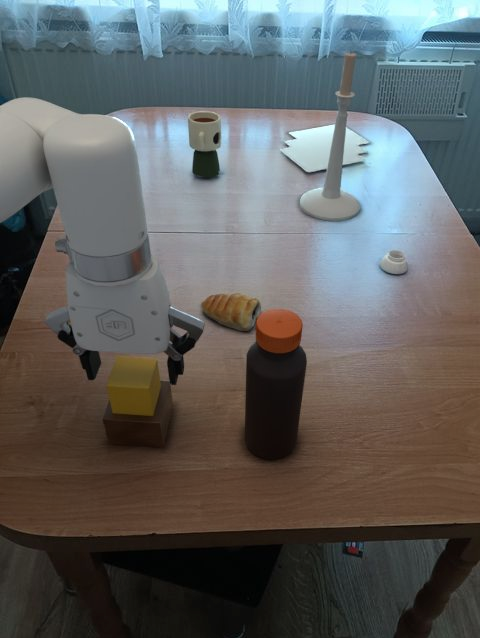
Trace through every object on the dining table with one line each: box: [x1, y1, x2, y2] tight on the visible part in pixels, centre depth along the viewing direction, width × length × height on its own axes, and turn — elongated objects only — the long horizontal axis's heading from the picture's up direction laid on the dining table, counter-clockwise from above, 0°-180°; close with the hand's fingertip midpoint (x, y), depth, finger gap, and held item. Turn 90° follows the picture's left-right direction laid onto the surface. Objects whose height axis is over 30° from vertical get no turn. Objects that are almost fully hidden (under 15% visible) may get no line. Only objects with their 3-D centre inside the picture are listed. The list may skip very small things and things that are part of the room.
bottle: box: [244, 307, 308, 460], centre depth 63 cm, size 7×7×20 cm
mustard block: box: [105, 355, 161, 416], centre depth 66 cm, size 5×5×5 cm
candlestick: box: [299, 52, 361, 222], centre depth 105 cm, size 13×13×30 cm
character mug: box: [187, 110, 222, 179], centre depth 120 cm, size 11×7×13 cm, turn 175°
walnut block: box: [102, 380, 174, 449], centre depth 69 cm, size 7×7×5 cm
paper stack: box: [278, 124, 371, 173], centre depth 137 cm, size 23×25×1 cm
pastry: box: [200, 292, 262, 332], centre depth 87 cm, size 9×7×4 cm
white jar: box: [379, 249, 409, 275], centre depth 99 cm, size 5×3×5 cm
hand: (135, 374), depth 64 cm, fingers open, 9 cm apart
